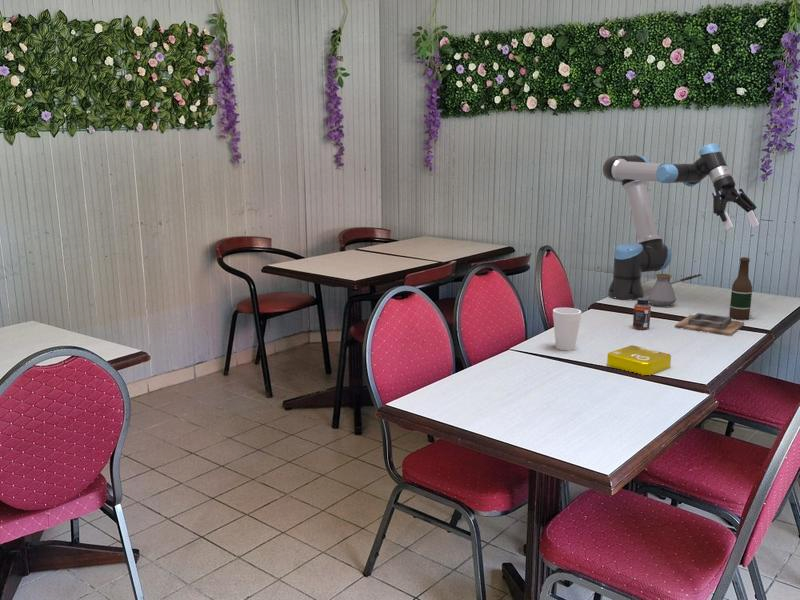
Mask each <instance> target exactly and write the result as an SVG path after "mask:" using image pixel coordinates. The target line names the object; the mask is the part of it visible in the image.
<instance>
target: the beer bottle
mask: <svg viewBox="0 0 800 600" xmlns="http://www.w3.org/2000/svg"><path fill="white" fill-rule="evenodd" d="M739 261H740V263H739V269H738V274H737V277H736V279H734V281H733V283H732V286H731V292H730V293H731V295H730V303H729V316H728V317H731V318H732V320H735V319H736V320H735V321H747V320H749V319H750V313H751V303H752V293H753V285H752V282H751V280H750V279H749V271H750V270H749V268H750V266H749V264H750V262H751V261H750V257H740V259H739Z"/></svg>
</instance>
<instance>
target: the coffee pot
mask: <svg viewBox="0 0 800 600" xmlns="http://www.w3.org/2000/svg"><path fill="white" fill-rule="evenodd" d="M655 277H656V281H655V282H654V285H653V286H652V289H651V290H650V292H649V294H648V296H647V299H649V302H648V303H649V304H650V303H651V305H652V304H653V305H652V306H654V305H656V306H655V307H658V306H670V307H671V306H672V305H674V304H675V302H676V301H677V297H676V294H675V291H674V289H673V286H672V285H673V284H676V283H679V282H685V281H688V280H689V281H690V280H692V279H695V278H698V277H700V279H701V280H702V279H704V277H703V276H702V273H699V274H694V275H689V276H686V277H684V278H683V277H682V278H680V279H677V280H673V281H671V278H672V274H666V273H657V274H655Z"/></svg>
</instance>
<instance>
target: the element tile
mask: <svg viewBox="0 0 800 600" xmlns="http://www.w3.org/2000/svg"><path fill="white" fill-rule="evenodd" d="M671 361H672V355H671V354H670V353H667V352H662V351H658V350H654V349H650V348H645V347H641V346H637V345H628V346H626V347H622V348H619V349H616V350H614V351H610V352H608V353H607V361H606V366H608V367H609V366H610V368H613V369H616V368H618V370H620V369H621V370H620V371H624V370H625V372H628V371H629V373H631V372H634V373H633V374H635V373H638V374H637V375H639V374H641V375H640V376H644V375H649V376H652V375H651V374H653V375H655V374H658V373H660V372H663V371H664V370H667V369H670V368H671V365H672V363H671ZM662 370H663V371H662ZM657 372H658V373H657Z"/></svg>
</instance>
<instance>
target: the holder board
mask: <svg viewBox="0 0 800 600" xmlns="http://www.w3.org/2000/svg"><path fill="white" fill-rule="evenodd" d="M744 325H745V322H744V321H741V320H733V319H732V318H731V317H729V316H723V315H715V314H707V313H700V312H698V313H695V314H689V315H688V316H686V317H685V318H683V319H682V320H680V321H679V322H677V323H676V324H675V325H674V328H675V327H676V328H675V329H680V328H683V329H682V330H687V329H689V330H688V331H694V330H695V331H694V332H700V331H702V332H701V333H707V332H709V333H708V334H714V335H722V336H730V337H731V336H733V335H734V334H735V333H737V332H738V331H739V330H740V329H741V328H742V327H743V326H744Z"/></svg>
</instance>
